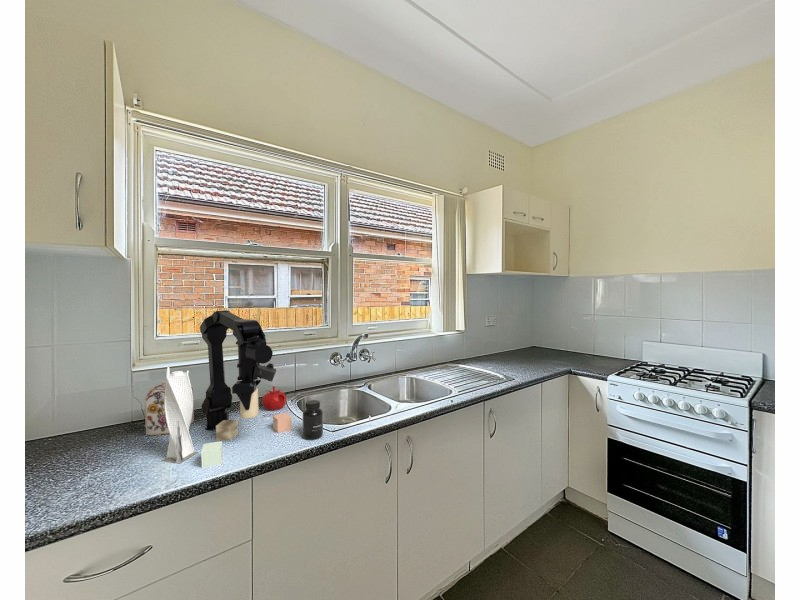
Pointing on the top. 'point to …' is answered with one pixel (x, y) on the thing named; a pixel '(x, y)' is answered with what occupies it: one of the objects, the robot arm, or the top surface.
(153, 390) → the decorative jar
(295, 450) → the top surface
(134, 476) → the top surface
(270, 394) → the pomegranate
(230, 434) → the birch block
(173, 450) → the skyscraper
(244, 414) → the candle
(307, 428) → the supplement bottle
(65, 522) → the top surface
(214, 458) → the sage block
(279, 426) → the terracotta block
